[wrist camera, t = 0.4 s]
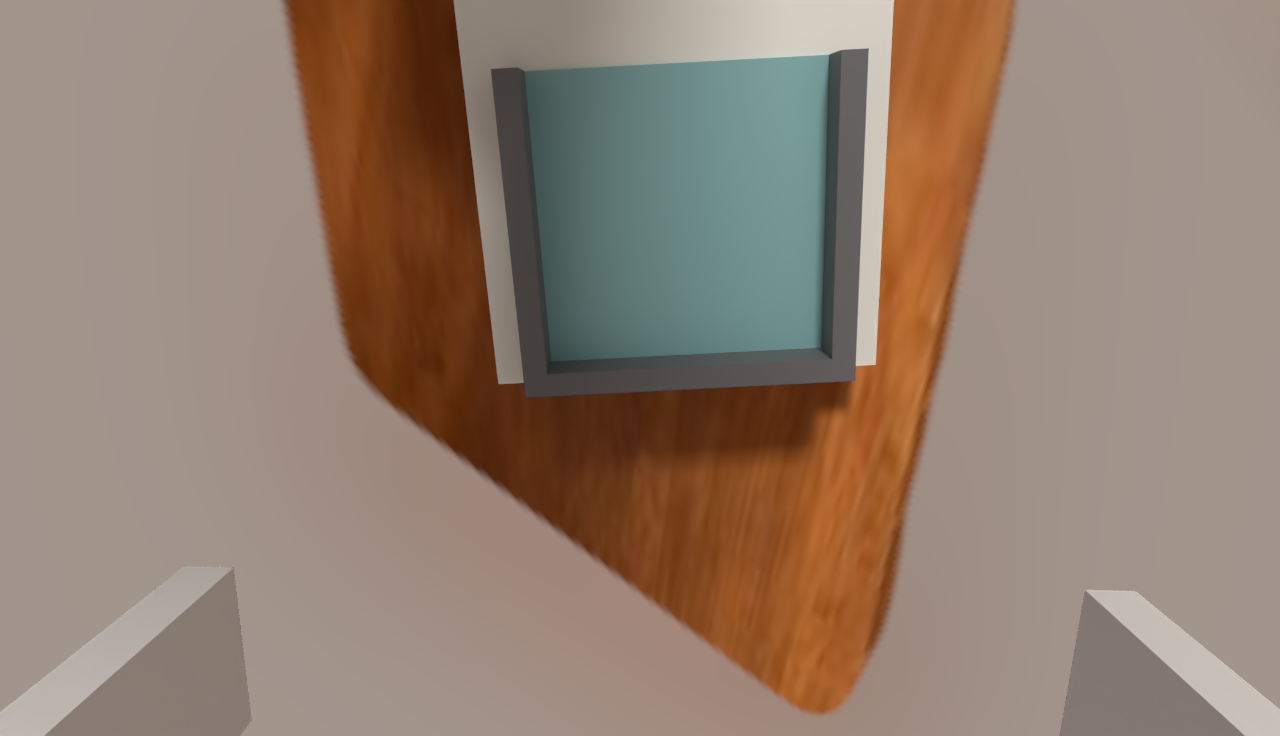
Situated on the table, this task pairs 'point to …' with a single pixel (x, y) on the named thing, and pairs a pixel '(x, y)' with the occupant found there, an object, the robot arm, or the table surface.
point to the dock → (678, 188)
